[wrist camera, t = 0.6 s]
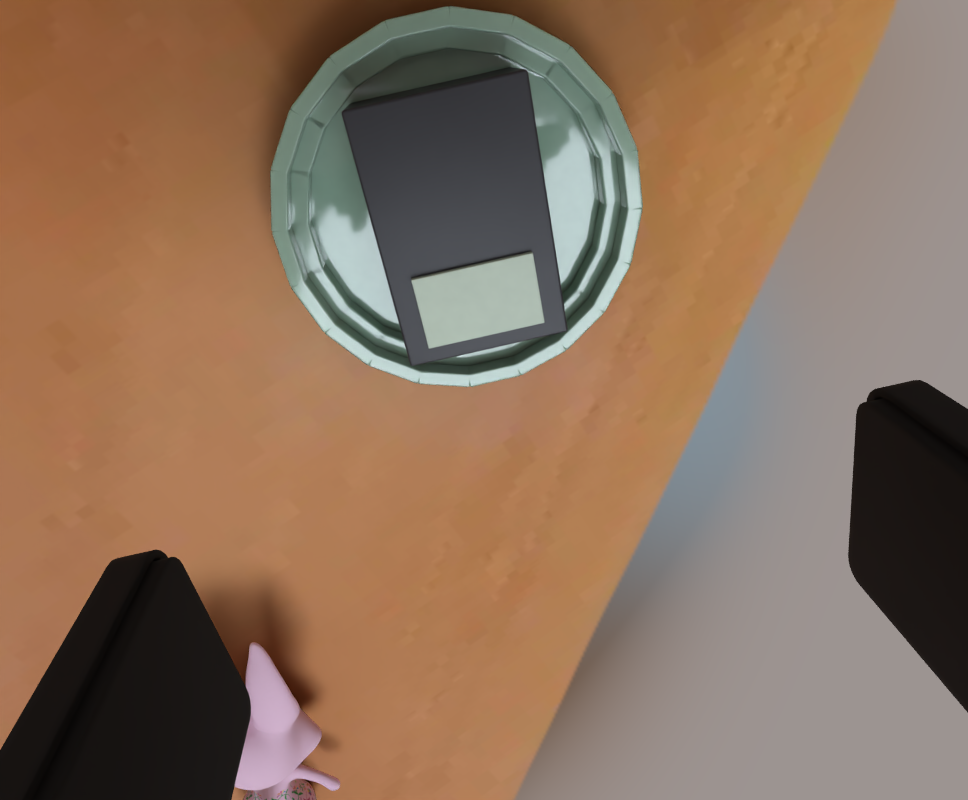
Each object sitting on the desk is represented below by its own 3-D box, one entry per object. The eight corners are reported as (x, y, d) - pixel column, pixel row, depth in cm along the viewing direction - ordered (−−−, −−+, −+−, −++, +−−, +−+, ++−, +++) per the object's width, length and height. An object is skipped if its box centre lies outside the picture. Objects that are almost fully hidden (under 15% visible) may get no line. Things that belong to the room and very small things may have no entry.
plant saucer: (229, 58, 20) (211, 58, 19) (602, -27, 20) (621, -34, 19) (339, 392, 25) (335, 418, 24) (638, 325, 25) (656, 345, 24)
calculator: (348, 103, 21) (339, 111, 18) (512, 66, 21) (529, 68, 18) (410, 332, 24) (410, 370, 21) (550, 301, 24) (570, 334, 21)
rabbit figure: (350, 783, 37) (321, 603, 28) (343, 915, 32) (305, 748, 24) (230, 793, 37) (162, 612, 28) (203, 929, 32) (111, 763, 23)
